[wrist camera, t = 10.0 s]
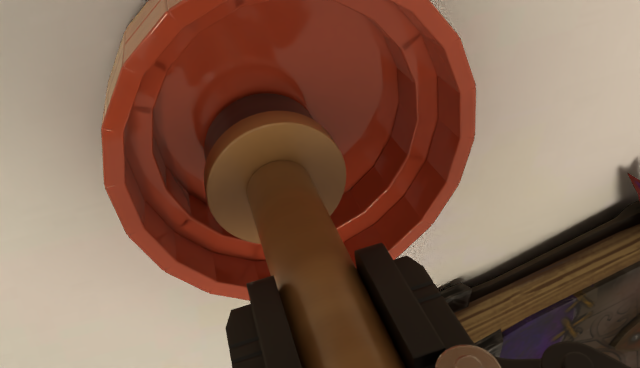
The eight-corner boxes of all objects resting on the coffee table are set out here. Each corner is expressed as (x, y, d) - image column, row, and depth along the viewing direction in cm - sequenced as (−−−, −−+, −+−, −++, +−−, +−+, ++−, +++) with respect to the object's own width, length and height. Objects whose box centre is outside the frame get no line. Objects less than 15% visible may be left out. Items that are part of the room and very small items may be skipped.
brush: (182, 105, 19) (235, 448, 8) (313, 72, 19) (518, 349, 9) (217, 213, 21) (289, 574, 11) (330, 181, 22) (503, 490, 12)
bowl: (48, -19, 16) (24, 16, 13) (419, -97, 18) (480, -84, 15) (170, 270, 23) (175, 340, 20) (430, 193, 25) (473, 246, 22)
